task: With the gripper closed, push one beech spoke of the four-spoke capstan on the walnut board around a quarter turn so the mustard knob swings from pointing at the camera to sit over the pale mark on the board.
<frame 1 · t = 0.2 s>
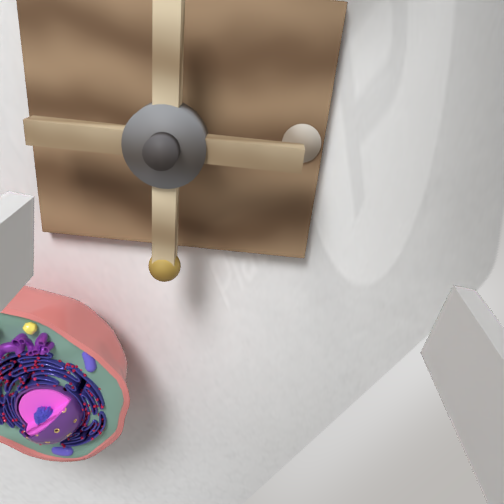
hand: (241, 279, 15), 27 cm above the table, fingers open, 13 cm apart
capstan: (164, 156, 35), point 6 cm above the table, hinge at 0.0°
stand: (179, 126, 40), on the table
cell model: (60, 332, 51), on the table
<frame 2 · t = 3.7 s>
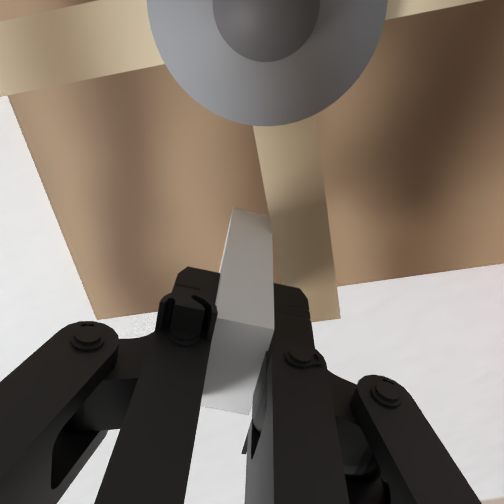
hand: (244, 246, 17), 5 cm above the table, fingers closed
stand: (267, 5, 18), on the table
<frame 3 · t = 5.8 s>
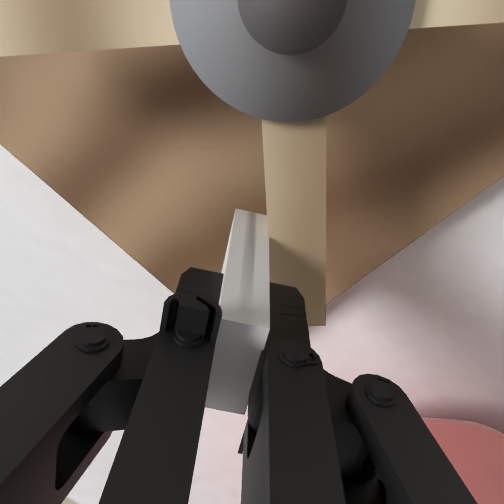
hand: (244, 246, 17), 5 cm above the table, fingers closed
stand: (288, 1, 18), on the table
cell model: (395, 466, 29), on the table
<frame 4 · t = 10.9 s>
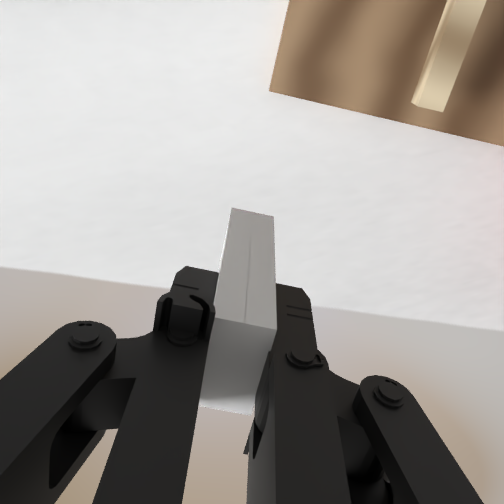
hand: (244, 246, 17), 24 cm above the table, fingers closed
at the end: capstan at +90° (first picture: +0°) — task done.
